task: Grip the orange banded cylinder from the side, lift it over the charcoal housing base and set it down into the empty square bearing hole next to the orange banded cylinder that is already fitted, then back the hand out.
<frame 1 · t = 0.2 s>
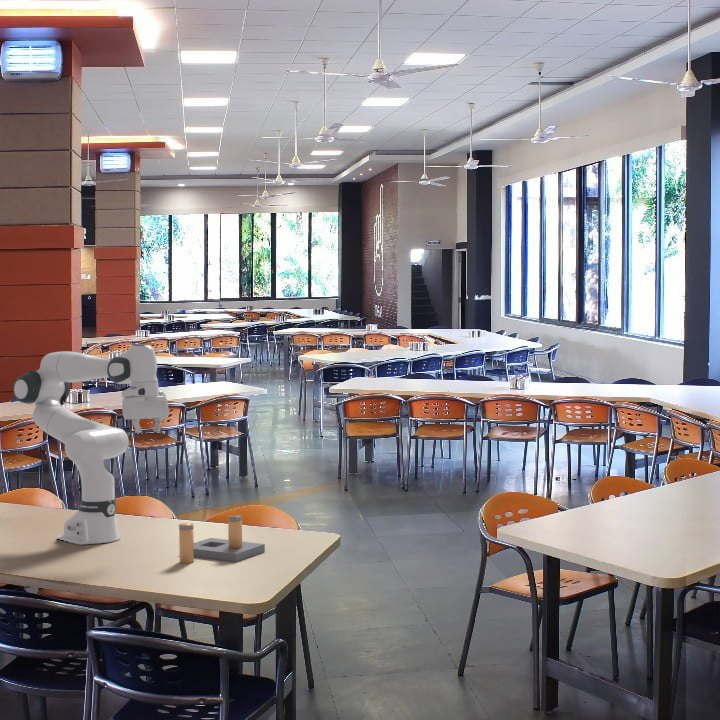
hand: (147, 432, 336), 39 cm above the table, tool pointing down, fingers open, 8 cm apart
housing: (223, 553, 326), on the table
orange banded cylinder: (186, 562, 314), on the table
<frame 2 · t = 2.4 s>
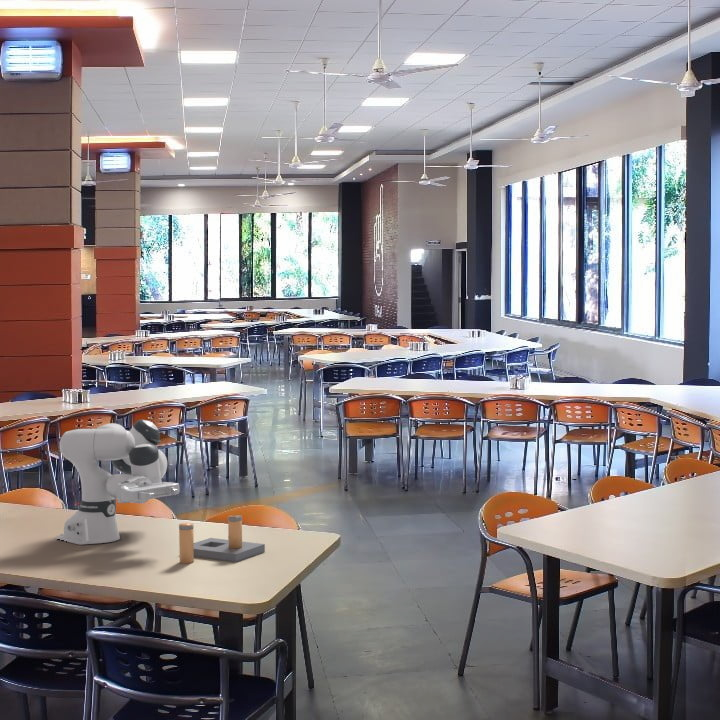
hand: (164, 494, 322), 20 cm above the table, tool horizontal, fingers open, 8 cm apart
nothing on the table moved.
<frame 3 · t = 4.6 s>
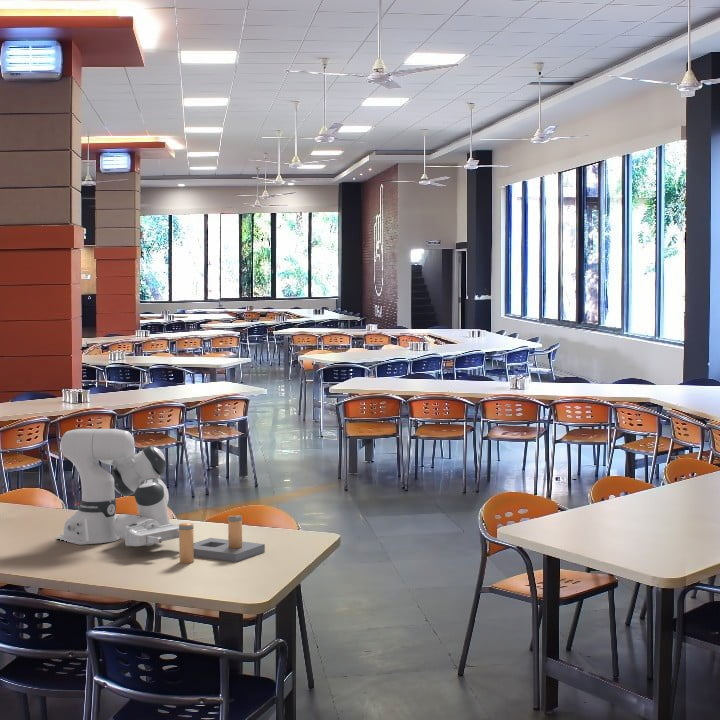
hand: (172, 538, 321), 6 cm above the table, tool horizontal, fingers open, 8 cm apart
nothing on the table moved.
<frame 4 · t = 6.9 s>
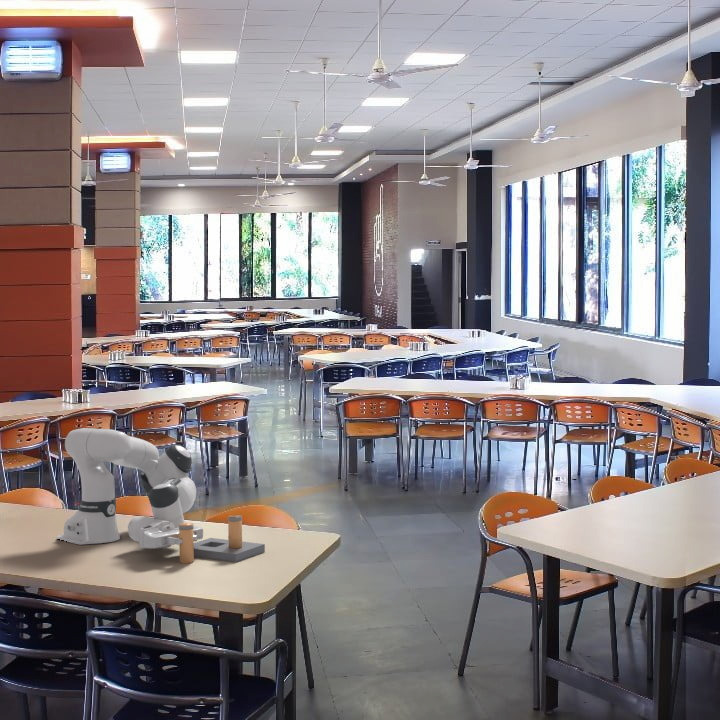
hand: (188, 540, 313), 7 cm above the table, tool horizontal, fingers closed on orange banded cylinder, 4 cm apart
orange banded cylinder: (186, 561, 314), on the table, touching gripper
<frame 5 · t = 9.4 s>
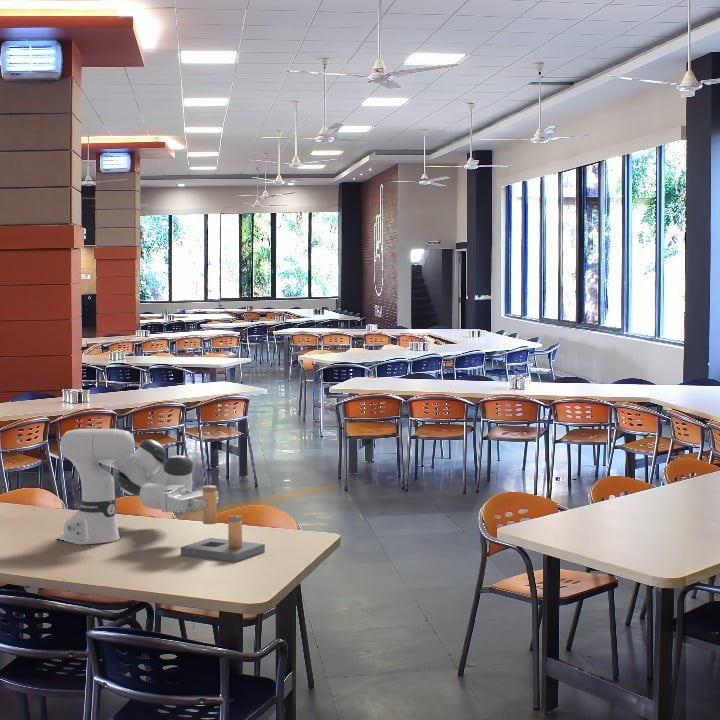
hand: (211, 501, 325), 17 cm above the table, tool horizontal, fingers closed on orange banded cylinder, 4 cm apart
orange banded cylinder: (209, 523, 325), point 10 cm above the table, touching gripper
when the fingers open (8 cm above the table, at t = 12.0 s): orange banded cylinder drops 1 cm, resting in housing.
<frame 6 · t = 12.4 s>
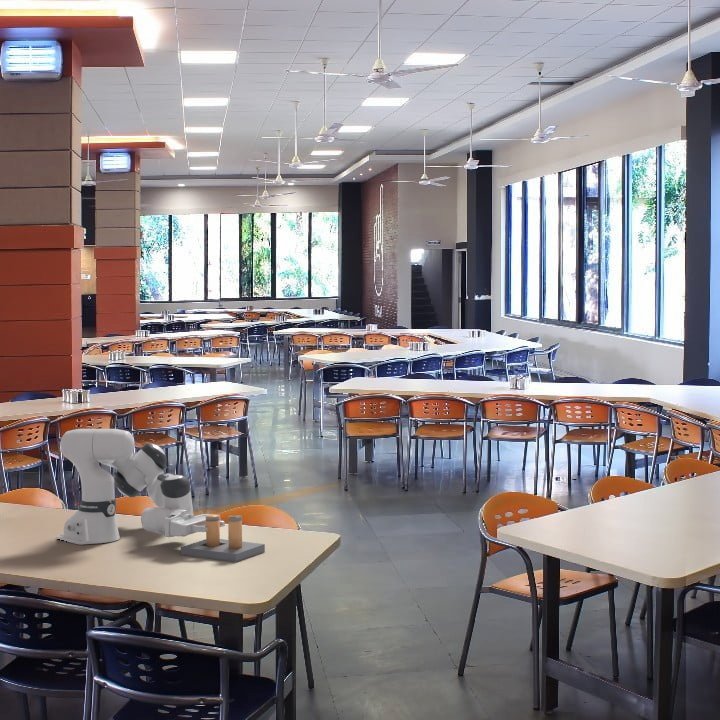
hand: (215, 526, 327), 8 cm above the table, tool horizontal, fingers open, 8 cm apart
orange banded cylinder: (213, 552, 328), resting in housing
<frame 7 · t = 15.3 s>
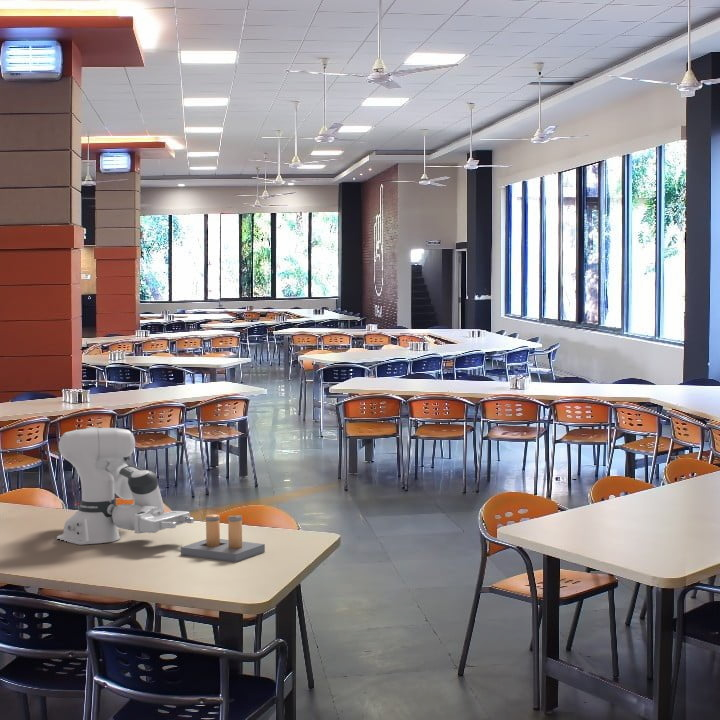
hand: (183, 523, 333), 9 cm above the table, tool horizontal, fingers open, 8 cm apart
nothing on the table moved.
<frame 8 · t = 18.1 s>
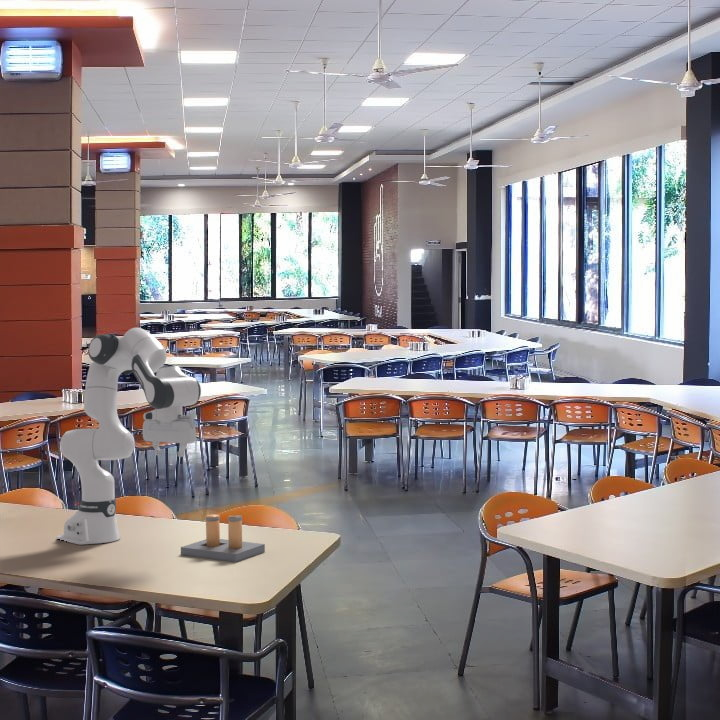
hand: (169, 455, 332), 31 cm above the table, tool pointing down, fingers open, 8 cm apart
nothing on the table moved.
at the end: orange banded cylinder 0.0 cm from the target spot on the housing, point 0.0 cm above the housing's base; orange banded cylinder tilted 0°; the gripper is holding nothing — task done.
